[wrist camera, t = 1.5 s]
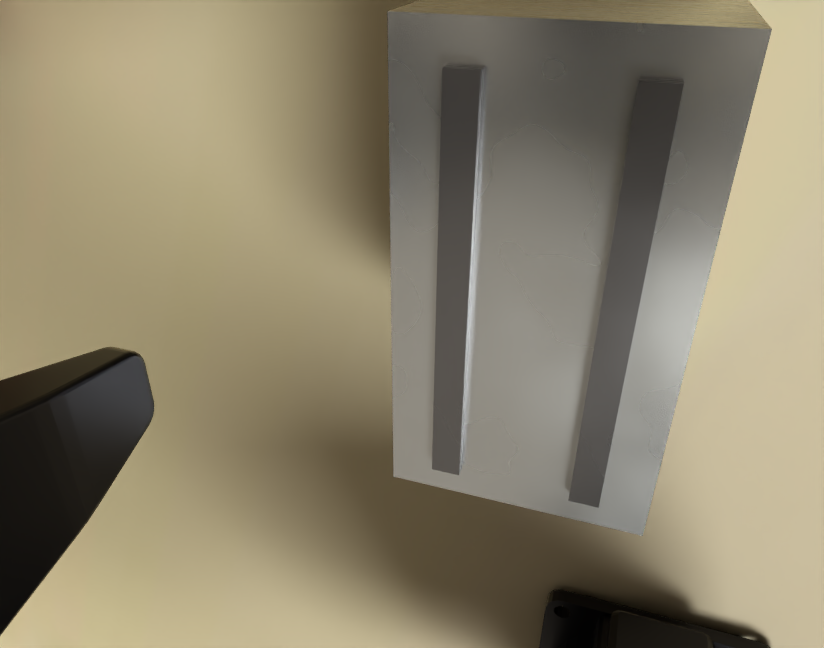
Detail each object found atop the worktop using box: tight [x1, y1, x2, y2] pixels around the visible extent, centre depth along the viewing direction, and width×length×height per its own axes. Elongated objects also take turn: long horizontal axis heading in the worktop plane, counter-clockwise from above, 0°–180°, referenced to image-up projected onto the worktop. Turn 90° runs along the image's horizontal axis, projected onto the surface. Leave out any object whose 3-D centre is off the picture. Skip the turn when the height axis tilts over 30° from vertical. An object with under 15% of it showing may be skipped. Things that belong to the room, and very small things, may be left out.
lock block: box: [387, 0, 772, 536], centre depth 13 cm, size 8×4×6 cm, turn 0°
